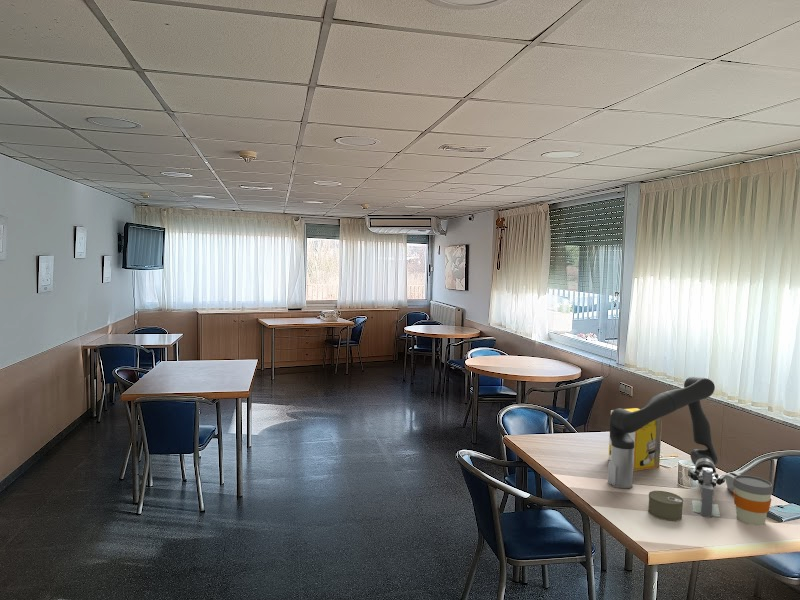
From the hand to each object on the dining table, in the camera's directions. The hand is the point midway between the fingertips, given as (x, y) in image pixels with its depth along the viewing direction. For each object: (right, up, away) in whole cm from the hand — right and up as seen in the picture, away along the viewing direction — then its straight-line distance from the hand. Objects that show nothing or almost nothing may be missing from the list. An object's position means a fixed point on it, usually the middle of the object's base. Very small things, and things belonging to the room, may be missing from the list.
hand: (707, 483), depth 208 cm
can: (-19, -10, -5) cm, 23 cm away
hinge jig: (-1, -10, 0) cm, 10 cm away
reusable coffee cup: (+12, -11, -8) cm, 18 cm away
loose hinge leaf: (+1, -6, +3) cm, 7 cm away
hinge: (+23, -10, +14) cm, 29 cm away
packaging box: (-7, -8, +50) cm, 51 cm away
